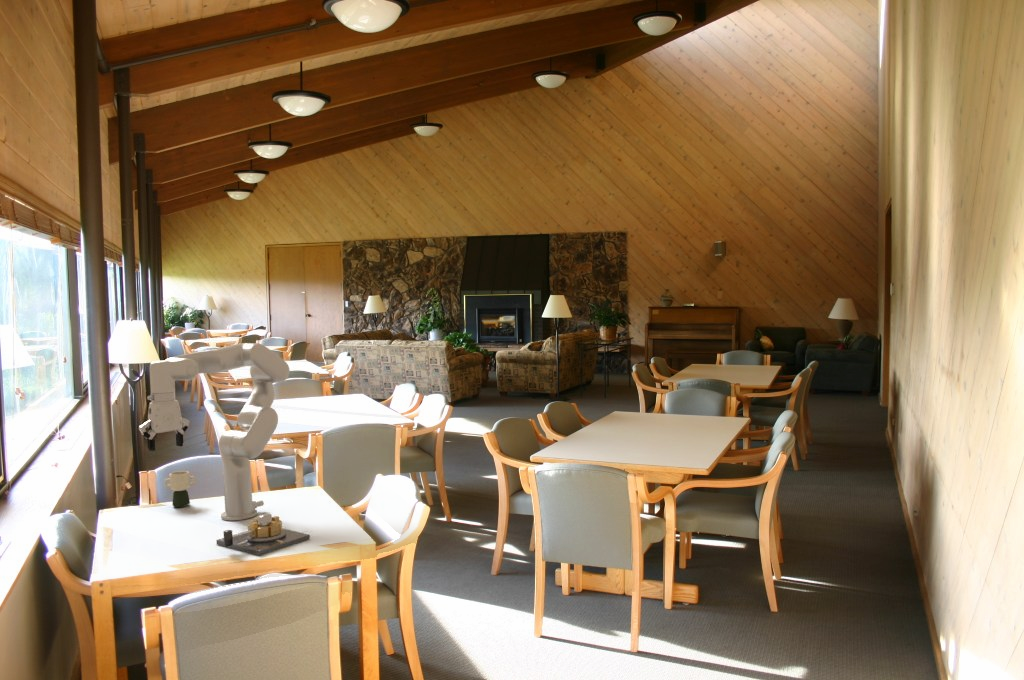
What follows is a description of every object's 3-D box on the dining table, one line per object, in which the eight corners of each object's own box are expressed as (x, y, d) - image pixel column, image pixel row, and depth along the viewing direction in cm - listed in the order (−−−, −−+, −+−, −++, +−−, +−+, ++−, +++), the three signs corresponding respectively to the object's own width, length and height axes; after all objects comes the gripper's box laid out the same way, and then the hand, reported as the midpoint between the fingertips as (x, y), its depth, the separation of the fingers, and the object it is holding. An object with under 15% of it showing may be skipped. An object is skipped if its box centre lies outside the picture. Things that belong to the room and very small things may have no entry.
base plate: (267, 529, 295) (266, 504, 294) (309, 539, 282) (308, 513, 281) (216, 544, 279) (215, 518, 278) (258, 556, 266) (257, 529, 265)
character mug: (197, 502, 334) (195, 469, 334) (195, 507, 328) (193, 473, 327) (167, 505, 331) (165, 472, 331) (165, 510, 325) (163, 476, 324)
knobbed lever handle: (268, 527, 288) (268, 514, 288) (288, 532, 282) (287, 518, 282) (215, 543, 272) (214, 529, 271) (235, 548, 266) (234, 534, 265)
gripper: (143, 401, 278) (146, 453, 279) (193, 395, 291) (195, 445, 292) (132, 399, 282) (135, 451, 284) (182, 394, 295) (184, 443, 297)
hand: (165, 448), depth 288 cm, fingers open, 9 cm apart
